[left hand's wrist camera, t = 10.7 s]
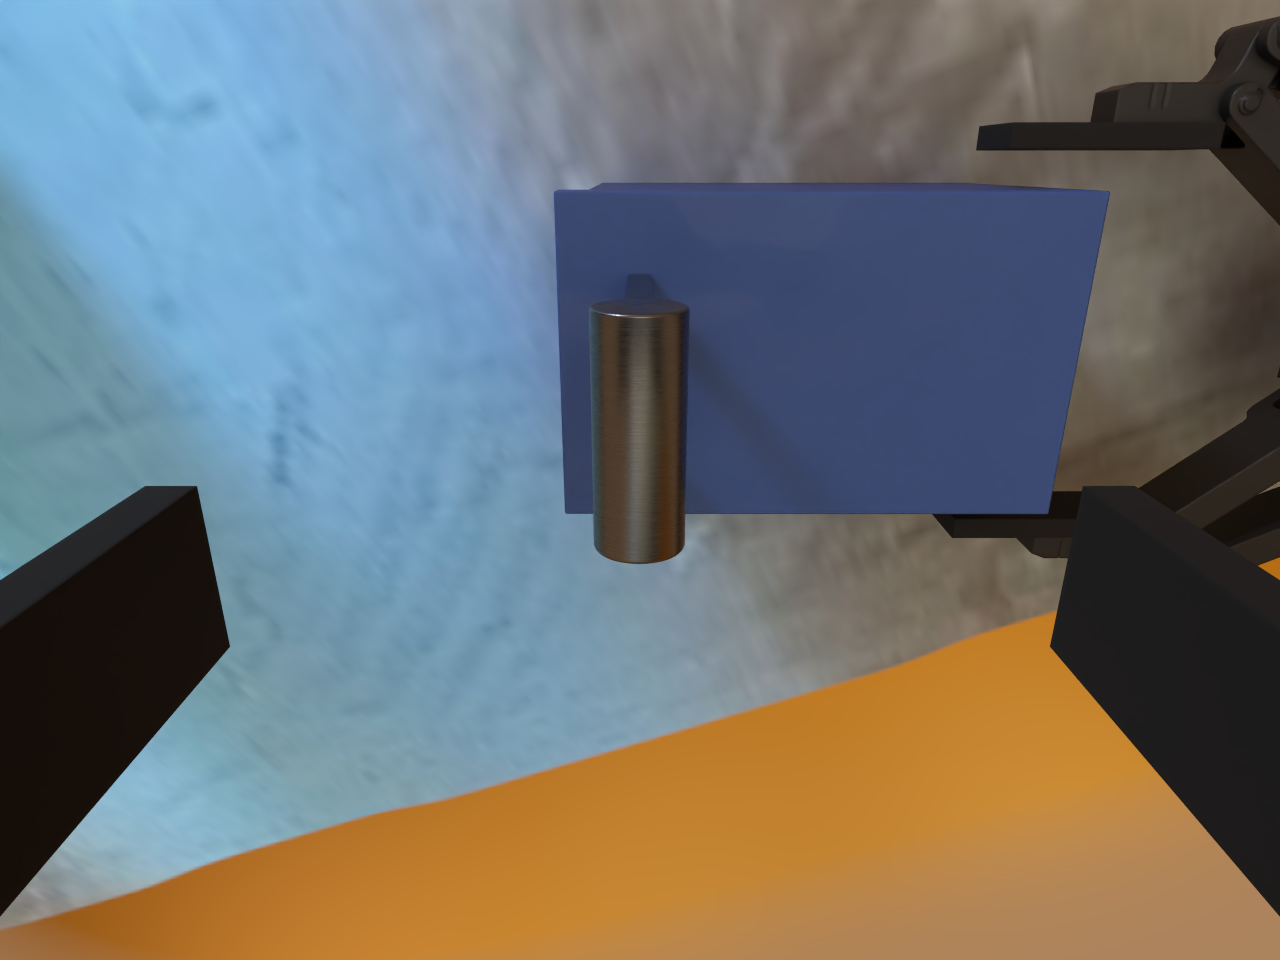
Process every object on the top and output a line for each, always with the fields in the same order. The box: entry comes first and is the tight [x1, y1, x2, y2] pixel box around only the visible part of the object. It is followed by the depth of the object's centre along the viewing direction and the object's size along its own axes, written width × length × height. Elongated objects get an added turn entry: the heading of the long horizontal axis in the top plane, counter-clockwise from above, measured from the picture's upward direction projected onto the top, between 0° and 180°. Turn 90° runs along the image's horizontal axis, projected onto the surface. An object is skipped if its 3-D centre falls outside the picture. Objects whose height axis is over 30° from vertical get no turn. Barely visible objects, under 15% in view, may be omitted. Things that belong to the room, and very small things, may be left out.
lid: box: [554, 190, 1110, 564], centre depth 22 cm, size 16×10×9 cm, turn 90°
